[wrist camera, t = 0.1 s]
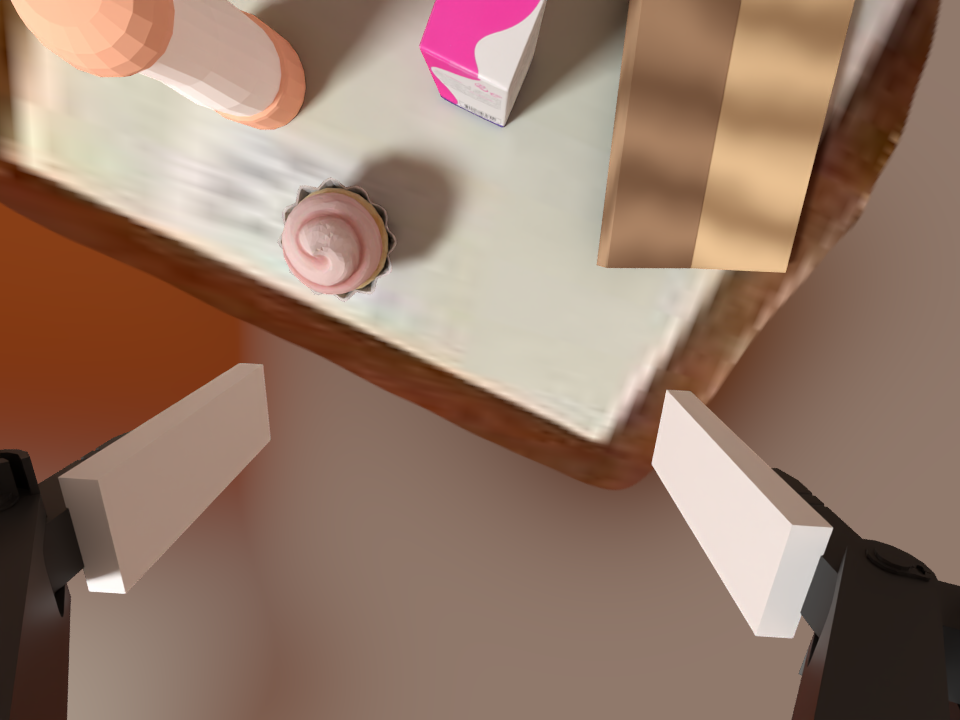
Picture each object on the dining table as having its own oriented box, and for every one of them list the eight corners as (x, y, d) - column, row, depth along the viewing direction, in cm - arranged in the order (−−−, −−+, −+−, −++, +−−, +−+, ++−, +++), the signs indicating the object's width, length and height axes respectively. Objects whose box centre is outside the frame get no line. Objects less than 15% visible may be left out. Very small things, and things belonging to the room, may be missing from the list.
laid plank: (745, -76, 33) (757, -89, 31) (858, -72, 33) (876, -85, 31) (683, 265, 41) (690, 268, 39) (774, 269, 41) (785, 272, 39)
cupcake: (286, 258, 41) (224, 275, 32) (326, 160, 39) (273, 146, 29) (379, 309, 43) (347, 339, 33) (425, 217, 40) (404, 221, 31)
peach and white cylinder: (250, 2, 35) (-7, -210, 17) (324, 79, 37) (160, -42, 19) (197, 80, 37) (-87, -38, 19) (270, 150, 39) (72, 103, 20)
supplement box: (536, 52, 36) (554, -14, 25) (503, 129, 38) (507, 99, 27) (467, 16, 35) (456, -67, 24) (438, 97, 37) (414, 53, 26)
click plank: (677, 265, 40) (690, 268, 39) (596, 265, 38) (607, 267, 37) (739, -78, 33) (757, -90, 31) (642, -104, 30) (657, -119, 29)
